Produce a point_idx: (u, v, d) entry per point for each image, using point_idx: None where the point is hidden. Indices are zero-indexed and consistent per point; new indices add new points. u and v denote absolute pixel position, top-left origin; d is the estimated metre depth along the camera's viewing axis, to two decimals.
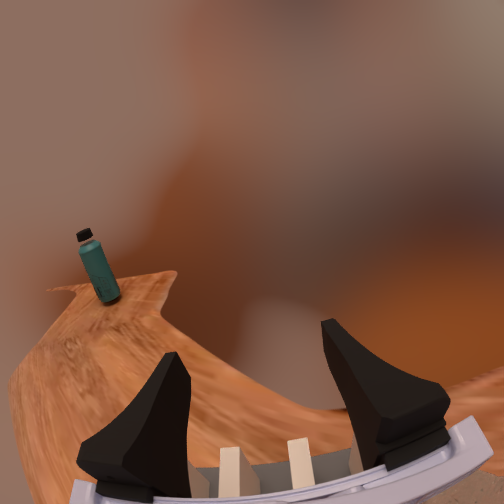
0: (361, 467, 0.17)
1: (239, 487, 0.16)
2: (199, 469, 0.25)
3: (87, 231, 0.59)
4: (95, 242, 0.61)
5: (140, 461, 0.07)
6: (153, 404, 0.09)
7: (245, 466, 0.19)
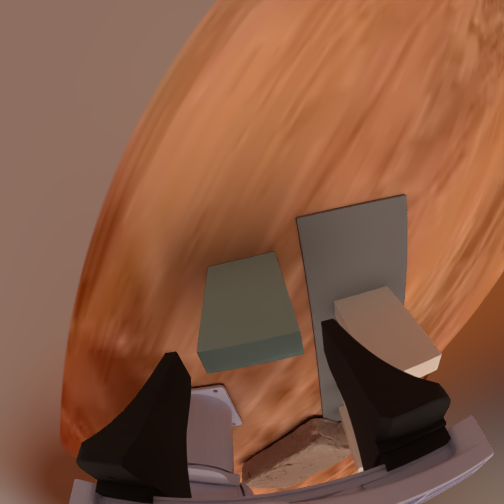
0: None
1: None
2: (403, 283, 0.23)
3: None
4: None
5: (140, 461, 0.07)
6: (153, 404, 0.09)
7: None
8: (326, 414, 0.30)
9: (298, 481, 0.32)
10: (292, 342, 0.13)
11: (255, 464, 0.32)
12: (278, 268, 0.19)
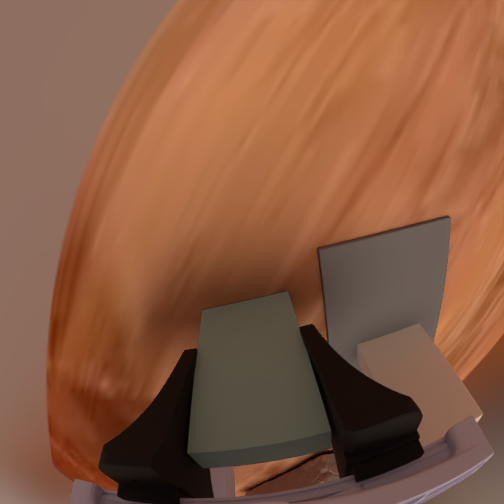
0: None
1: None
2: (436, 318, 0.18)
3: None
4: None
5: (168, 462, 0.07)
6: (177, 402, 0.09)
7: None
8: None
9: None
10: (318, 441, 0.08)
11: None
12: (295, 320, 0.14)
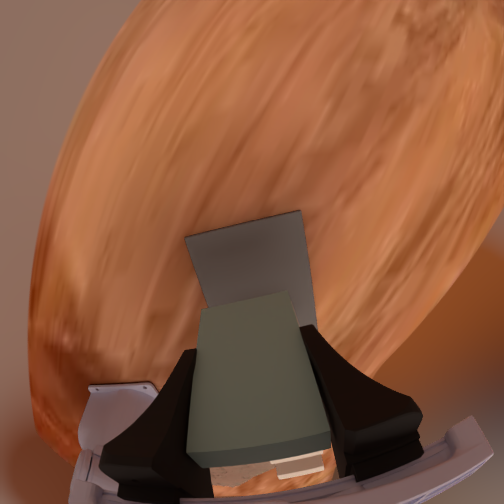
0: None
1: None
2: (311, 298, 0.25)
3: None
4: None
5: (168, 462, 0.07)
6: (177, 402, 0.09)
7: None
8: None
9: (242, 481, 0.34)
10: (318, 441, 0.08)
11: None
12: (294, 319, 0.14)
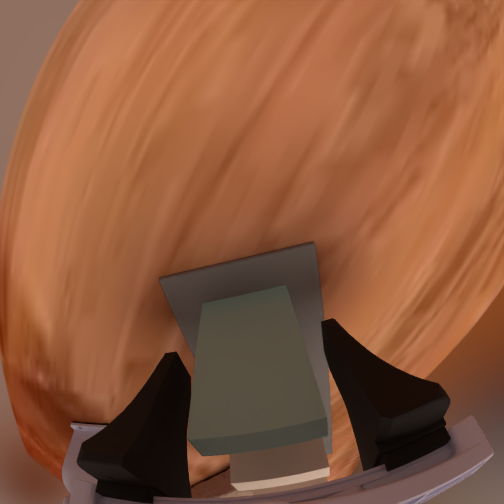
0: None
1: None
2: None
3: None
4: None
5: (140, 461, 0.07)
6: (153, 404, 0.09)
7: None
8: None
9: None
10: (315, 428, 0.09)
11: (194, 494, 0.28)
12: (292, 312, 0.14)
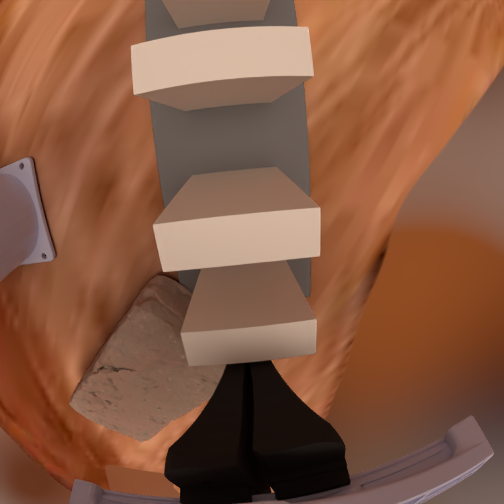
0: (227, 304, 0.12)
1: (171, 86, 0.07)
2: (290, 3, 0.12)
3: None
4: None
5: (245, 457, 0.07)
6: (242, 394, 0.09)
7: (266, 86, 0.09)
8: (184, 274, 0.19)
9: (152, 429, 0.20)
10: None
11: (86, 371, 0.20)
12: None
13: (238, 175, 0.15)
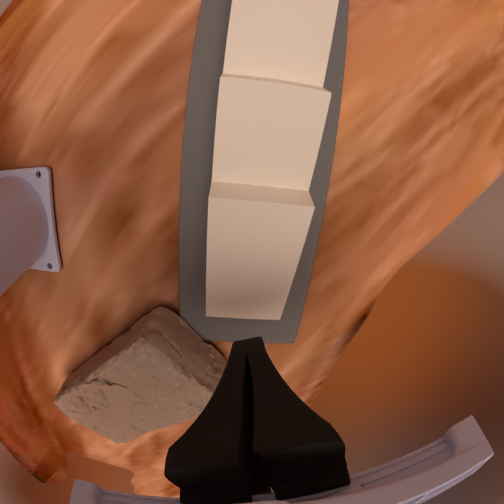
0: None
1: None
2: (340, 71, 0.14)
3: None
4: None
5: (245, 458, 0.07)
6: (242, 394, 0.09)
7: (312, 28, 0.10)
8: (185, 309, 0.20)
9: (131, 435, 0.21)
10: None
11: (74, 375, 0.21)
12: None
13: None
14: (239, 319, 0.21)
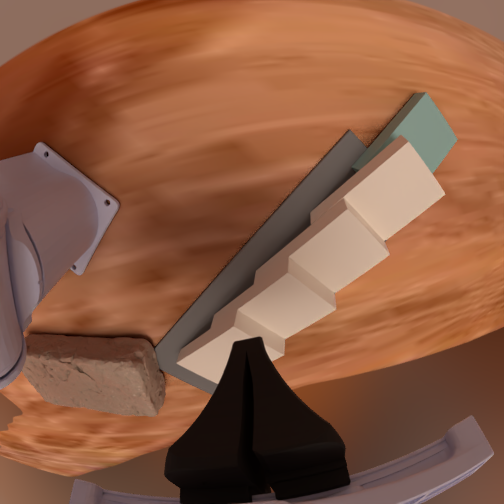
0: None
1: (356, 220, 0.17)
2: None
3: None
4: None
5: (245, 458, 0.07)
6: (242, 394, 0.09)
7: (358, 263, 0.19)
8: (160, 348, 0.26)
9: (66, 403, 0.24)
10: None
11: (42, 342, 0.23)
12: None
13: None
14: None
